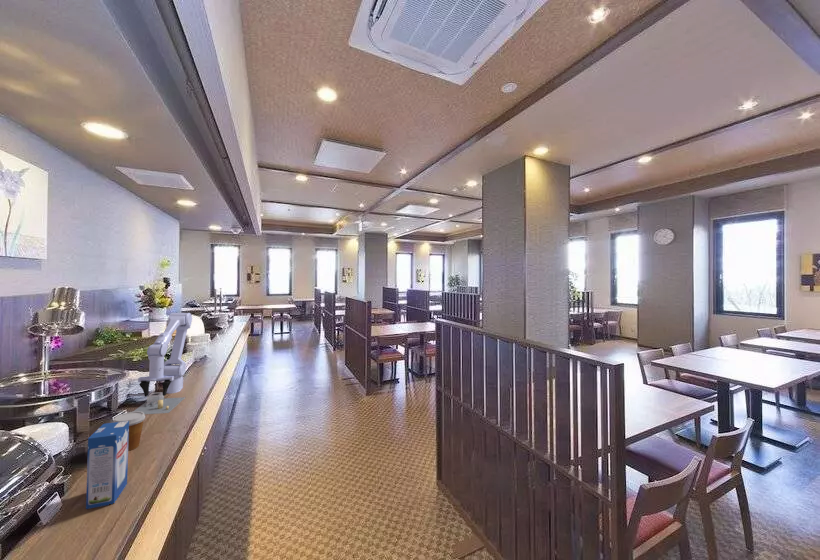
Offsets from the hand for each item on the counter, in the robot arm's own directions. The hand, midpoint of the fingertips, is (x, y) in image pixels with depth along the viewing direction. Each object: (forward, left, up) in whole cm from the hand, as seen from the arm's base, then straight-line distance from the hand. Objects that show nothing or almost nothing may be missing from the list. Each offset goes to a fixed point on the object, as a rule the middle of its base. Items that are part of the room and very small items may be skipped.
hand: (155, 395), depth 165 cm
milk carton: (+74, +19, -5) cm, 76 cm away
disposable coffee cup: (+44, +10, -5) cm, 45 cm away
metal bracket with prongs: (+1, 0, -3) cm, 4 cm away
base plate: (+5, +4, -5) cm, 8 cm away
